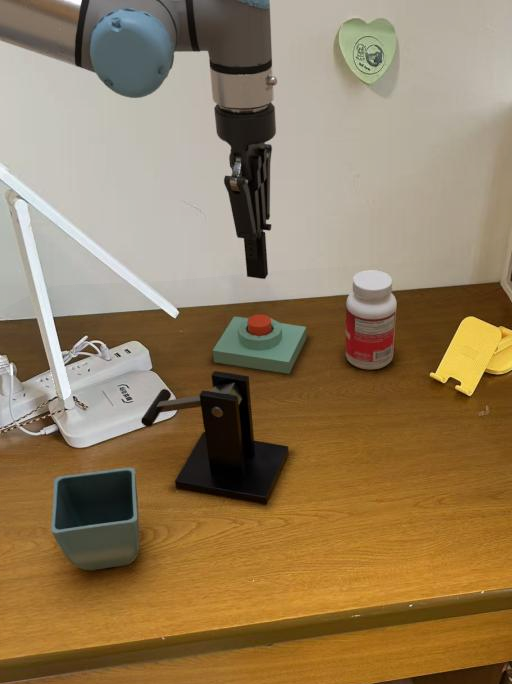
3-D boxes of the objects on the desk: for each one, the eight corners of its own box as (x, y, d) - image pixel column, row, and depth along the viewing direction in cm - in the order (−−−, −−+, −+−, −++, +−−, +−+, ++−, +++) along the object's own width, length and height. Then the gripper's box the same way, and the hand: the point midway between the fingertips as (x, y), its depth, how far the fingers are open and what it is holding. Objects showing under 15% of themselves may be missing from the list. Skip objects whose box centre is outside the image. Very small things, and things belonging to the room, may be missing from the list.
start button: (244, 335, 117) (244, 325, 116) (252, 322, 120) (251, 312, 118) (267, 338, 117) (267, 328, 115) (274, 325, 119) (274, 316, 118)
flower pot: (147, 519, 94) (134, 465, 88) (150, 574, 88) (137, 520, 81) (72, 530, 92) (53, 476, 86) (70, 587, 86) (50, 533, 80)
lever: (146, 430, 95) (137, 415, 93) (165, 401, 99) (156, 386, 98) (231, 419, 90) (223, 402, 89) (247, 389, 95) (239, 373, 93)
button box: (213, 362, 118) (211, 340, 115) (235, 327, 125) (233, 306, 122) (289, 374, 116) (288, 351, 114) (306, 338, 123) (306, 316, 121)
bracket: (176, 488, 98) (159, 402, 88) (204, 438, 105) (191, 354, 95) (266, 504, 96) (259, 419, 87) (288, 453, 103) (285, 368, 94)
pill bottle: (353, 340, 123) (355, 263, 114) (398, 349, 122) (404, 271, 113) (338, 366, 118) (339, 287, 109) (385, 375, 117) (390, 296, 107)
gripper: (257, 124, 90) (269, 301, 107) (288, 89, 99) (294, 257, 116) (196, 118, 91) (217, 294, 108) (232, 84, 101) (247, 251, 117)
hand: (257, 275), depth 112 cm, fingers closed
